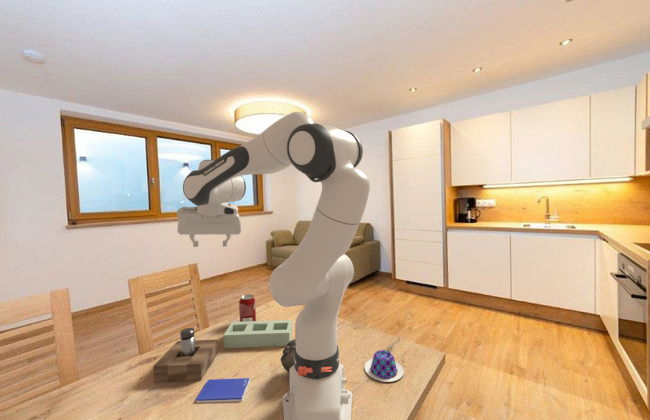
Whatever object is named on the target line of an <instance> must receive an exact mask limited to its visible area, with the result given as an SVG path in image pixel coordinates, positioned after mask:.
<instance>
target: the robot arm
mask: <svg viewBox="0 0 650 420" xmlns="http://www.w3.org/2000/svg"><path fill="white" fill-rule="evenodd" d="M363 154H364V150H363V145H362V142H361V141H360V139H359V137H357V136H356V135H355V134H354V133H352V132H351V131H349V130H343V129H340V128H338V127H337V126H334V125H328V124H319V123H315V122H314V121H313V119H312V118H311V117H309V116H308V115H307V114H306V113H303V112H301V111H293V112H290V113H288V114H287V115H285V116H283V117H281V118H279V119H278V120H277V121H275V122H274V123H272V124H271V125H269V126H268V127H267V128H266V129H264V130H263V131H262V132H260V133H259V134H258V135H257V136H255V137H254V138H252V139H250V140H248V141H246V142H244V143H243V144H241V145H239V146H236V147H234V148H232V149H230V150H229V151H227V152H225V153H223V154H222V155H220V156H219V157H218V158H216V159H203V160H201V161H200V162H199V165H198V166H197V167H198V168H197V169H196V170H192V171H191V172H189V173H188V175H187V176H186V177H185V179H184V180H183V183H182V190H183V194H184V197H185V198H186V199H187V200H189V202H190V203H192V204H193V205H195V206H182V207H180V208H178V209H177V210H176V217H177V219H178V222H177V233H178V234H179V235H188V236H189V239H190V241H191V242H192V246H193V248H194V247H195V248H198V247H199V240H197V239H195V236H196V235H198V236H199V235H200V236H201V235H207V236H208V235H212V236H213V235H220V236H221V235H226V236H225V237H226V239H225V240H222V247H228V242H229V240H230V239H231V237H232V235H240V234H241V233H242V222H241V217H240V214H239V208H238V206H237V205H234V204H231V203H232V202H233V203H234V202H237V201H241V200H242V199H243V198H244V197H245V194H246V191H247V185H246V180H245V179H244V177H243V176H248V175H252V176H253V175H270V174H275V173H278V172H280V171H283V170H285V169H287V168H288V167H290V166H293V167H294V168H295V169H296V170H297V171H299V172H301V173H302V174H304V175H305V176H306V177H307V178H308V179H309V180H310V181H311V182H313V183H321V191H320V192H321V193H320V195H319V198H318V201H317V204H316V208H315V210H314V213H313V216H312V219H311V221H310V224H309V226H308V229H307V231H306V233H305V234H304V237H303V238H302V239H301V241H300V243H299V244H298V245H297V246H296V248H295V249H294V251H293V252H292V253H291V255H289V257H288V258H287V259H285V260H284V261H283V262H282V263H281V264H280V265H278V266H277V267H276V268H274V269H273V271H272V272H271V275H270V277H269V291H270V294H271V296H272V298H273V299H274V301H275V302H276V303H277V304H278V305H279V306H281V307H283V308H290V307H297V306H303V305H304V306H303V308H302V309H301V310H300V312H299V313H298V315H297V316H296V319H295V322H294V328H295V329H294V332H295V333H294V334H295V337H294V339H295V340H296V347H295V349H294V365H293V366H292V367H291V368H290V382H289V390H288V392H286V393H285V394H284V395H282V398H281V399H282V400H281V401H282V402H281V403H282V411H283V420H352V410H353V393H352V392H351V391H350V390H348V389H345V385H347V377H345V366H344V365H343V364H342V363H340V350H339V345H338V319H339V312H340V309H341V304H342V302H343V298H344V295H345V292H346V290H347V289H348V286H349V285H350V284H351V282H352V280H353V279H354V275H355V268H354V264H353V261H352V260H351V258H350V257H349V256H348V255H346V253H347V252H348V251H349V249H350V248H351V245H352V243H353V240H354V237H355V236H356V233H357V230H358V228H359V226H360V223H361V220H362V219H363V217H364V213H365V210H366V207H367V203H368V199H369V195H370V189H371V181H370V180H369V179H370V178H369V177H368V176H367V174H365V173H364V172H363V171H362V170H360V169H358V168H357V167H358V165H359V164H360V162H361V161H362V158H363Z"/></svg>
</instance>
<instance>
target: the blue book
mask: <svg viewBox="0 0 650 420" xmlns="http://www.w3.org/2000/svg"><path fill="white" fill-rule="evenodd" d="M250 383H251V378H250V377H240V378H239V377H238V378H217V379H216V378H214V379H208V380H206V382H205V384H204V386H203V387H202V389H201V391H200V392H199V393H198V395H197V397H196V398H195V403H229V402H232V403H233V402H243V400H244V397H245V394H246V393H247V390H248V388H249V385H250Z"/></svg>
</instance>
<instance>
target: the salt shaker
mask: <svg viewBox="0 0 650 420" xmlns="http://www.w3.org/2000/svg"><path fill="white" fill-rule="evenodd" d="M179 333H180V335H179V336H180V341H181V357H190V356H194V354H195V340H196V339H195V328H194V327H186V328H184V329H182V330H180V332H179Z"/></svg>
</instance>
